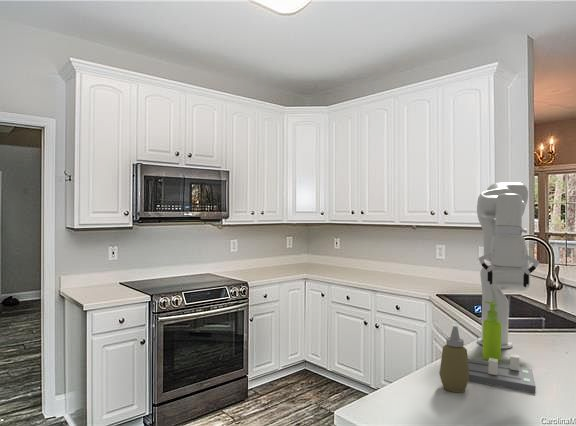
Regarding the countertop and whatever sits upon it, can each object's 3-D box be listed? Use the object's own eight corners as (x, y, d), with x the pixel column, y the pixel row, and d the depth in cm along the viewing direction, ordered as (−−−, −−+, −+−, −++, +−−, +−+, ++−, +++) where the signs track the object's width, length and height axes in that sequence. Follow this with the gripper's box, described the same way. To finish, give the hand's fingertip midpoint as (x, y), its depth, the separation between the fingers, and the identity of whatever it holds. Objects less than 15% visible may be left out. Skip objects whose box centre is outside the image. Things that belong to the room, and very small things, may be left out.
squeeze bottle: (433, 385, 124) (434, 324, 124) (454, 382, 127) (455, 322, 127) (453, 396, 116) (455, 331, 116) (475, 392, 119) (476, 329, 120)
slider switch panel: (457, 362, 144) (458, 356, 144) (531, 375, 134) (531, 368, 134) (453, 378, 130) (453, 371, 130) (535, 393, 120) (535, 385, 120)
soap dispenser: (493, 355, 154) (494, 300, 154) (504, 361, 147) (505, 304, 147) (478, 354, 154) (479, 300, 154) (487, 361, 147) (488, 304, 147)
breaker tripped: (488, 370, 131) (488, 357, 131) (497, 372, 129) (497, 359, 129) (488, 373, 128) (488, 360, 128) (497, 375, 127) (497, 362, 127)
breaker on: (509, 366, 135) (510, 353, 135) (518, 367, 134) (519, 355, 134) (510, 369, 132) (510, 356, 132) (519, 370, 131) (519, 357, 131)
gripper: (538, 233, 135) (538, 287, 134) (479, 231, 143) (478, 282, 142) (540, 232, 128) (539, 289, 127) (478, 230, 136) (477, 283, 135)
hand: (507, 285), depth 135 cm, fingers open, 9 cm apart
